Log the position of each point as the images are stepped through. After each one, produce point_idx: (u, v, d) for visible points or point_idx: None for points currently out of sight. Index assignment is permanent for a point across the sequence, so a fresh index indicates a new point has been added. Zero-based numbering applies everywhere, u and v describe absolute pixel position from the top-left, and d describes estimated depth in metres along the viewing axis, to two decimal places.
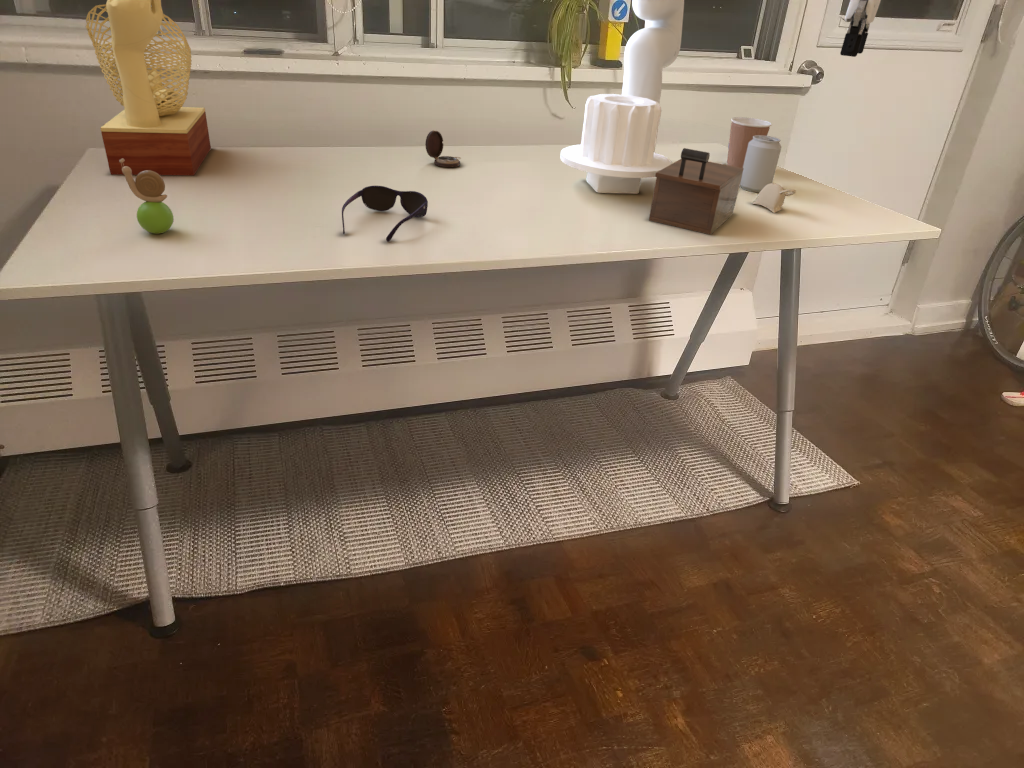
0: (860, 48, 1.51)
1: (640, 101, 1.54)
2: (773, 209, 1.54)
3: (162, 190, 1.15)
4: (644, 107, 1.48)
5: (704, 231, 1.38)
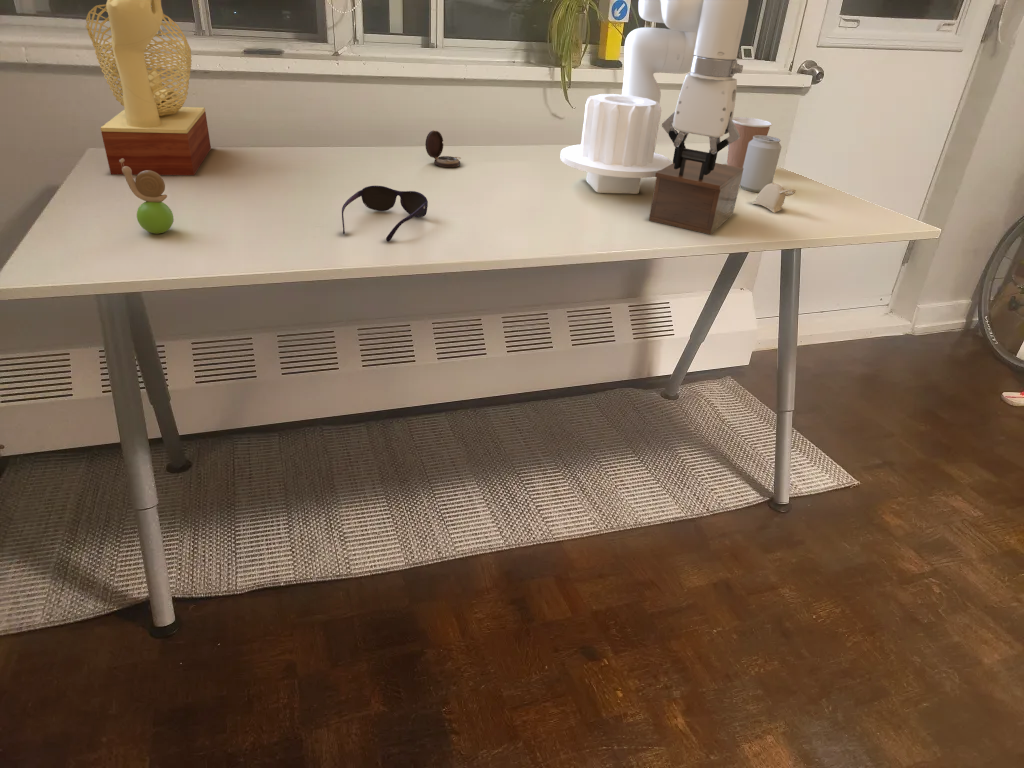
0: None
1: (640, 101, 1.54)
2: (773, 209, 1.54)
3: (162, 190, 1.15)
4: (644, 107, 1.48)
5: (704, 231, 1.38)
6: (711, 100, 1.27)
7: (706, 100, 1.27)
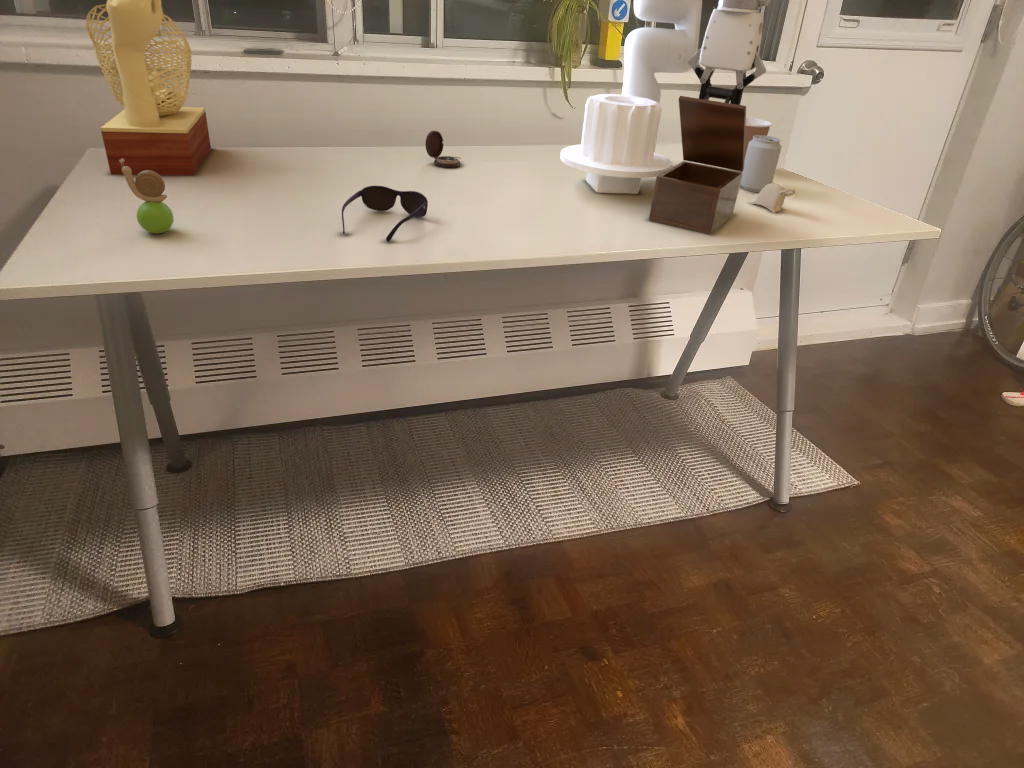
0: None
1: (640, 101, 1.54)
2: (773, 209, 1.54)
3: (162, 190, 1.15)
4: (644, 107, 1.48)
5: (704, 231, 1.38)
6: (738, 33, 1.29)
7: (733, 34, 1.29)
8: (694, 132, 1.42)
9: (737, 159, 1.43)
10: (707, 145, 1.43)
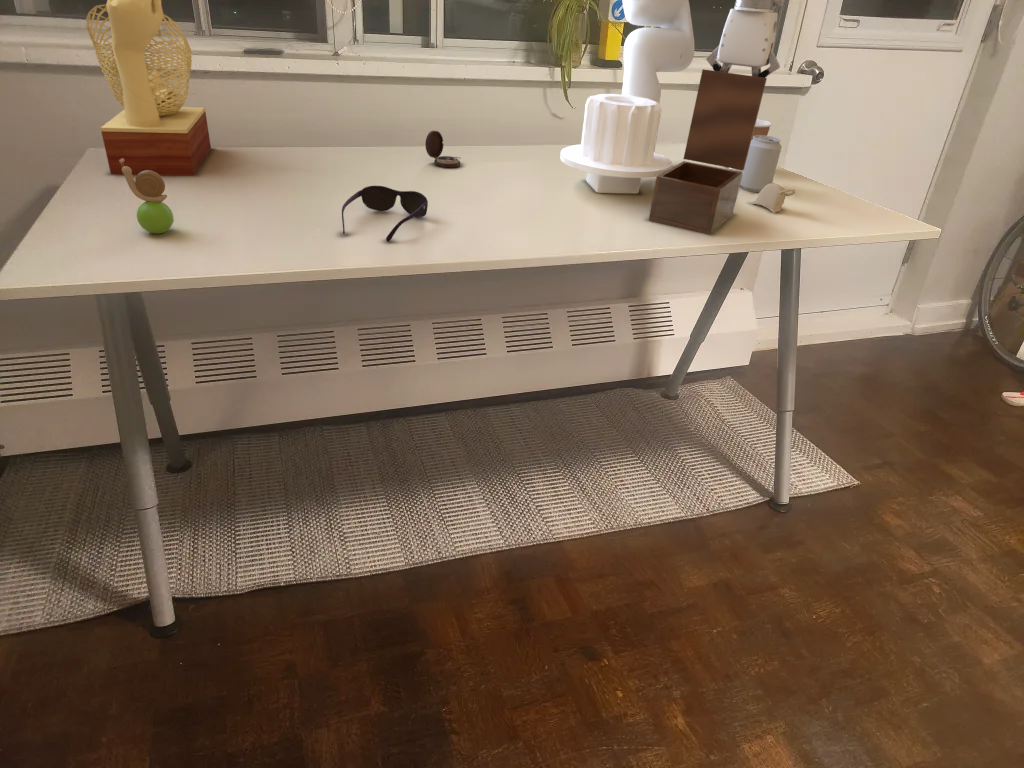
0: None
1: (640, 101, 1.54)
2: (773, 209, 1.54)
3: (162, 190, 1.15)
4: (644, 107, 1.48)
5: (704, 231, 1.38)
6: (753, 32, 1.38)
7: (749, 32, 1.38)
8: (705, 116, 1.45)
9: (741, 151, 1.44)
10: (715, 133, 1.46)
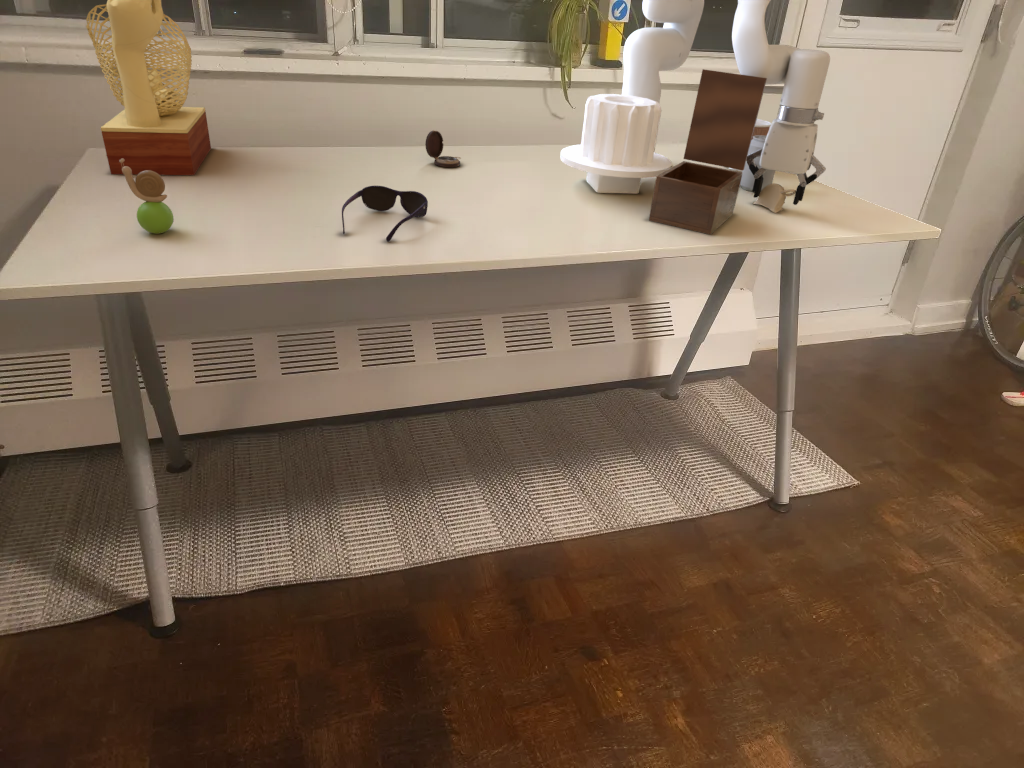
0: (794, 199, 1.52)
1: (640, 101, 1.54)
2: (774, 209, 1.54)
3: (162, 190, 1.15)
4: (644, 107, 1.48)
5: (704, 231, 1.38)
6: (795, 143, 1.46)
7: (791, 143, 1.46)
8: (705, 116, 1.45)
9: (741, 151, 1.44)
10: (715, 133, 1.46)
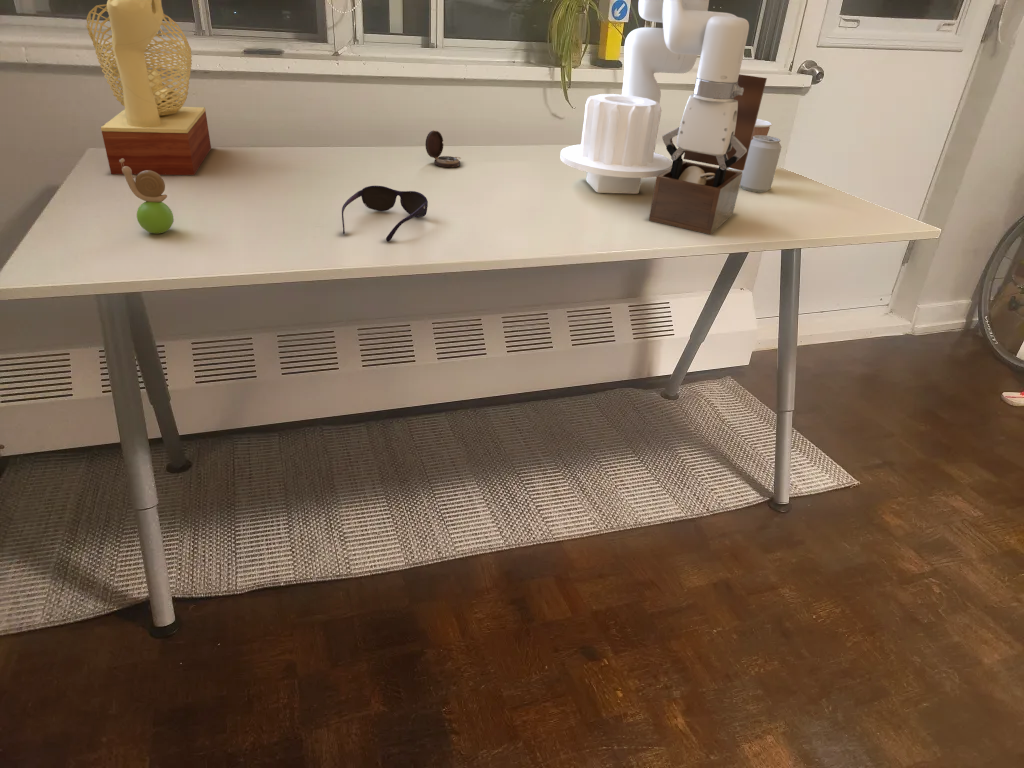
0: None
1: (640, 101, 1.54)
2: None
3: (162, 190, 1.15)
4: (644, 107, 1.48)
5: (704, 231, 1.38)
6: (713, 121, 1.32)
7: (708, 121, 1.33)
8: None
9: None
10: None
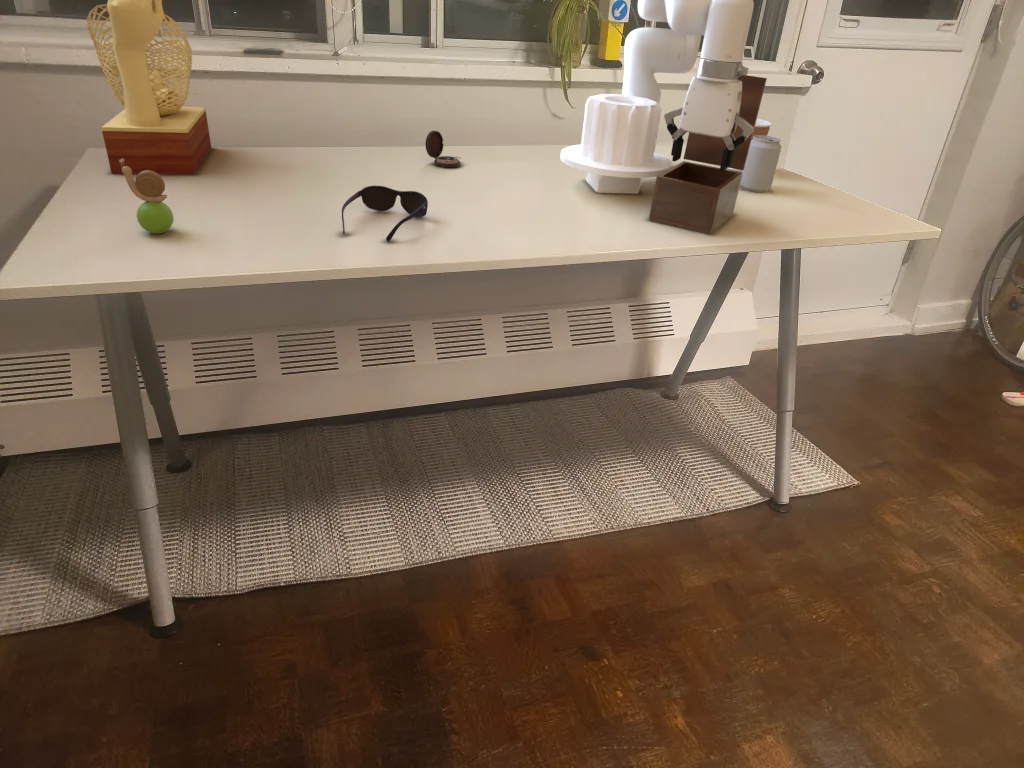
0: None
1: (640, 101, 1.54)
2: None
3: (162, 190, 1.15)
4: (644, 107, 1.48)
5: (704, 231, 1.38)
6: (717, 101, 1.31)
7: (712, 102, 1.31)
8: None
9: (741, 151, 1.44)
10: None
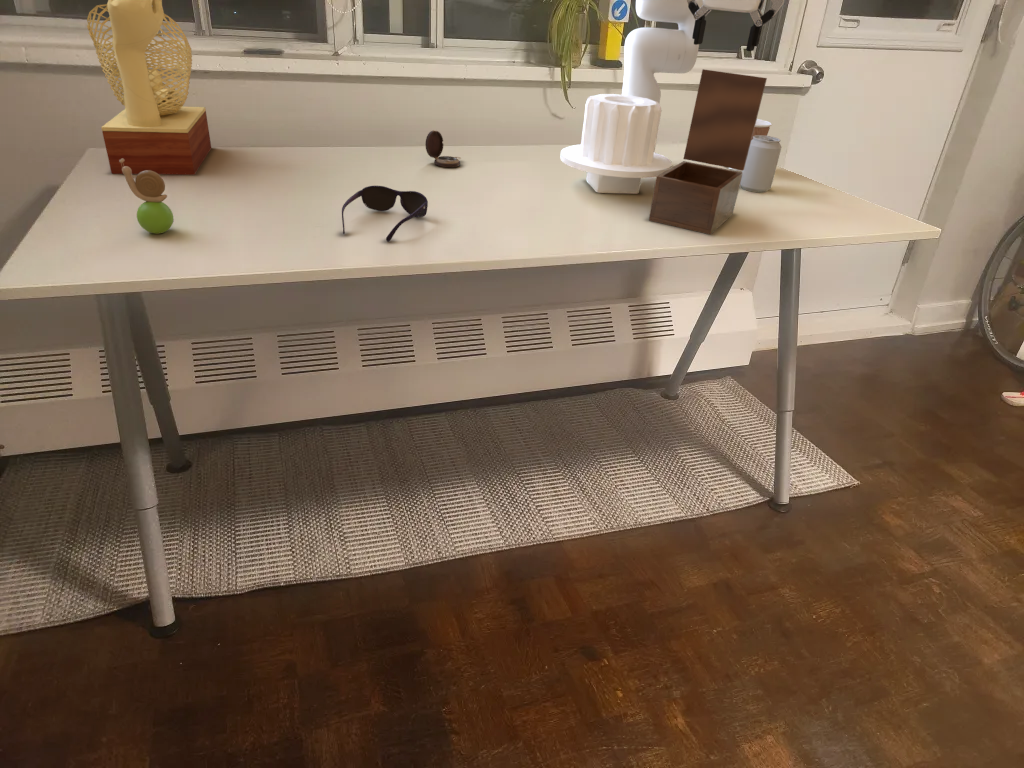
0: None
1: (640, 101, 1.54)
2: None
3: (162, 190, 1.15)
4: (644, 107, 1.48)
5: (704, 231, 1.38)
6: None
7: None
8: (705, 116, 1.45)
9: (741, 151, 1.44)
10: (715, 133, 1.46)
